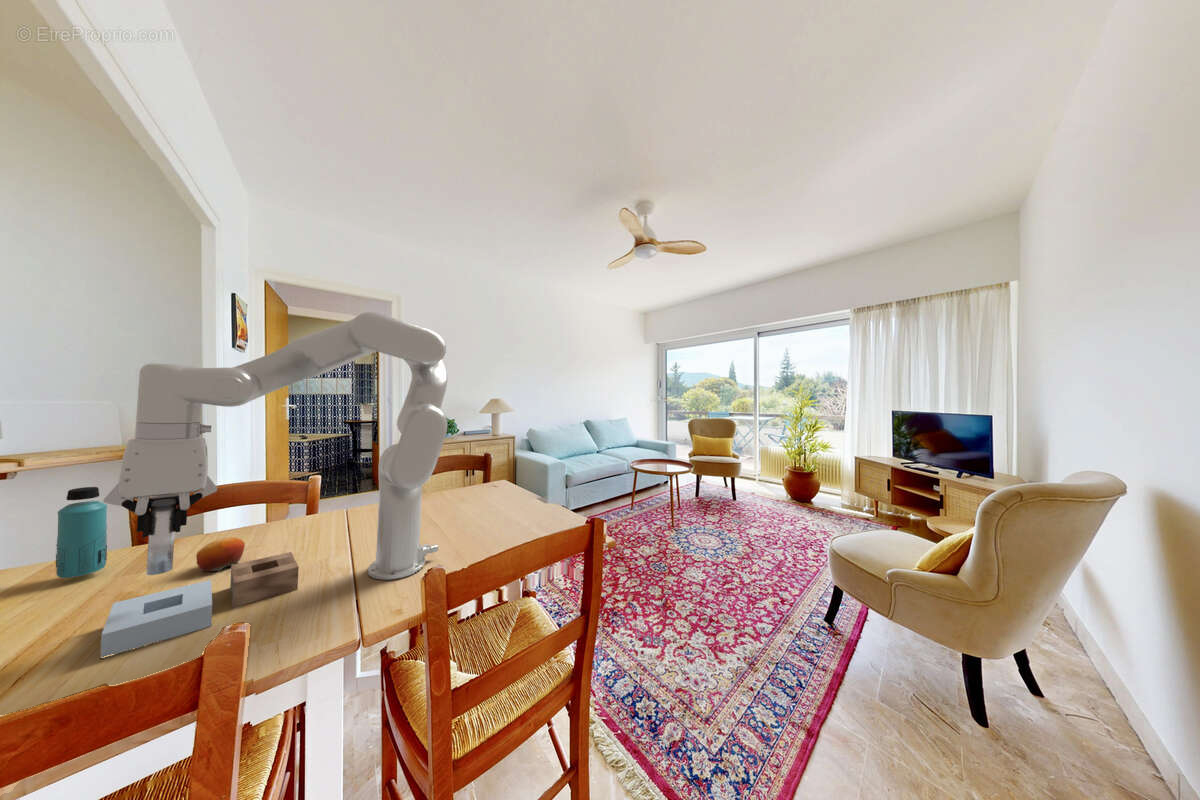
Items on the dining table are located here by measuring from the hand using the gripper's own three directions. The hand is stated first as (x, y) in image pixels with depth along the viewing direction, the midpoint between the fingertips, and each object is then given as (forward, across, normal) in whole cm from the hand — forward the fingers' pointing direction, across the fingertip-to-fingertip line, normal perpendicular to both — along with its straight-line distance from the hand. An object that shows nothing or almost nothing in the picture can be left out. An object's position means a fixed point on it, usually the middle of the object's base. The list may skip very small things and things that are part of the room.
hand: (162, 531), depth 65 cm
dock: (+18, -1, 0) cm, 18 cm away
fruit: (+18, -9, -23) cm, 30 cm away
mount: (+17, -15, -4) cm, 23 cm away
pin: (+7, 0, 0) cm, 7 cm away
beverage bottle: (+18, +12, -35) cm, 41 cm away
